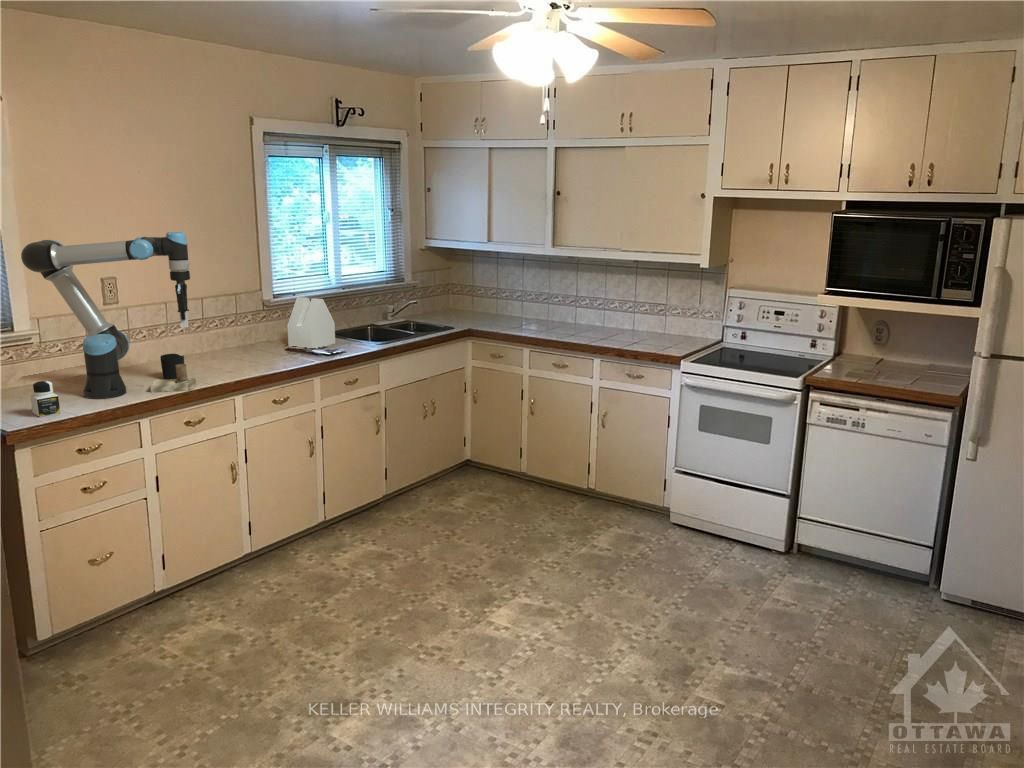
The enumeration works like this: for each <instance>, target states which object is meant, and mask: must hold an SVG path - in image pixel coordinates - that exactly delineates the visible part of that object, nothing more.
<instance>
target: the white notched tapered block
mask: <svg viewBox="0 0 1024 768" xmlns="http://www.w3.org/2000/svg"><path fill="white" fill-rule="evenodd" d="M286 327H287V342H288V347H289V346H298V347H307V348H316V349H319V348H318V347H320V348H323V346H324V347H326V346H331V345H333V344H336V328H335V321H334V319H333V316H332V314H331V312H330V310H329V309H328V306H327V304H326V302H325V299H323V298H315V297H314V298H311V300H310V299H309V297H306V296H305V297H304V296H297V297H296V299H295V302H294V304H293V309H292V311H291V313H290V317H289V320H288V322H287V326H286Z"/></svg>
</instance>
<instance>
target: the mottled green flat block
mask: <svg viewBox="0 0 1024 768" xmlns="http://www.w3.org/2000/svg"><path fill="white" fill-rule="evenodd" d="M187 380H188V383H177V379H166V380H165V379H154V380H153V381H152V383H151V384H150V386H149V387H150V393H163V392H162V391H173V392H190V391H191V392H193V391H194V390H195V388H196V386H197V380H196V378H194V377H193V378H187ZM194 387H195V388H194ZM193 389H194V390H193Z"/></svg>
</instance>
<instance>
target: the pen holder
mask: <svg viewBox="0 0 1024 768" xmlns="http://www.w3.org/2000/svg"><path fill="white" fill-rule="evenodd" d="M159 359H160V364H161V370H162V371H161V373H162V379H163V380H166V379H177V375H176V365H177V364H185V355H181V354H179V353H166V354H162V355H160V358H159Z"/></svg>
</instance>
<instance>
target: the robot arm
mask: <svg viewBox="0 0 1024 768" xmlns="http://www.w3.org/2000/svg"><path fill="white" fill-rule="evenodd" d="M20 256H21V257H20V258H21V261H22V263H23V265H24V266H25V268H27V269H28V270H29V271H32V272H34V273H40V274H41V276H42V277H43V279H44V280H47V281H49V282H51V283H52V284H53V286H54V287H55V289H56V290H57V291H58V293H59V294H60V296H61V297H62V298H63V299H64V302H65V303H66V304H67V306H68V307H69V308H70V310H71V311H72V313H73V314H74V315H75V317H76V318H77V320H78V321H79V322H80V324H81V325H82V327H83V328H84V329H85V331H86V333H87V336H86V337H85V338H84V339H83V342H82V350H83V357H84V364H85V365H84V366H85V371H86V381H85V385H84V388H83V395H84V397H85V398H86V399H95V400H98V399H99V400H100V399H110V398H116V397H117V398H118V397H119V396H123V395H125V394H126V393H127V386H126V384H125V382H124V380H123V378H122V376H121V373H120V364H119V361H121V359H123V358H125V356H126V355H127V353H128V351H129V349H130V340H129V338H128V337H127V336H126V334H125V333H124V332H122V331H120V330H118V328H117V327H116V325H115V324H114V323H110V322H108V321H107V319H106V318H105V316H104V315H103V314H102V311H100V309H99V308H98V306H97V305H96V303H95V302H94V300H93V299H92V298H91V296H90V294H89V293H88V292H87V290H86V289H85V288H84V286H83V284H82V283H81V282H80V280H79V279H78V277H77V276H76V274H75V273H74V272H73V267H74V266H78V265H91V264H101V263H102V264H103V263H112V262H122V261H136V260H139V261H143V260H147V259H149V258H152V257H157V256H158V257H166V256H167V257H168V269H169V270H170V271H169V277H170V278H169V279H170V281H175V283H176V284H175V285H174V288H175V290H174V291H175V296H176V301H177V313H179V317H180V318H179V320H180V328H189V320H188V319H189V318H188V316H189V315H188V312H189V311H190V309H189V307H188V291H187V290H188V289H187V288H188V286H187V283H186V281H190V280H191V274H190V265H191V262H190V261H189V249H188V240H187V234H186V233H185V232H183V231H170V232H166V234H165V236H159V237H157V236H137V237H135V239H132V240H131V239H130V240H120V241H109V242H108V241H107V242H97V243H96V242H95V243H81V244H71V245H70V244H69V245H64V244H62V243H61V242H59V241H57V240H52V239H43V240H40V241H35V242H31V243H28V244H27V245H25V246H24V247H23V249H22V251H21V254H20Z"/></svg>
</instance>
